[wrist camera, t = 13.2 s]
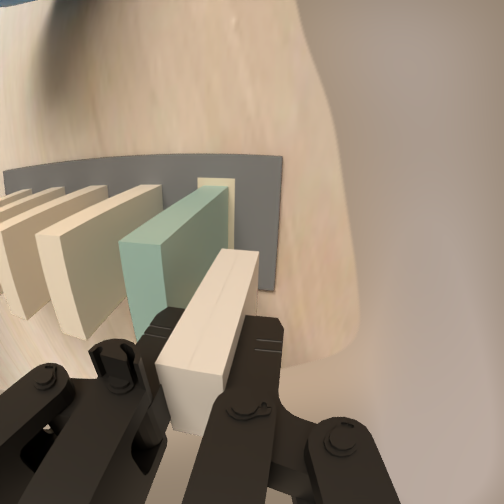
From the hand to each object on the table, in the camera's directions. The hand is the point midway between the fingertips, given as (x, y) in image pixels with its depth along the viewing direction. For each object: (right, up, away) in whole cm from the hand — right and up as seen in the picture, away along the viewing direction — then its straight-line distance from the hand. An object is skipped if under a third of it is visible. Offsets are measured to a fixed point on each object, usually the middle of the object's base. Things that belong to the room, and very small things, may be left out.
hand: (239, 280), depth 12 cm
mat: (-11, +4, +8) cm, 14 cm away
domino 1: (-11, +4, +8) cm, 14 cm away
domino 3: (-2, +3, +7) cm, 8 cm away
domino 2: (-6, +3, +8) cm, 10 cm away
